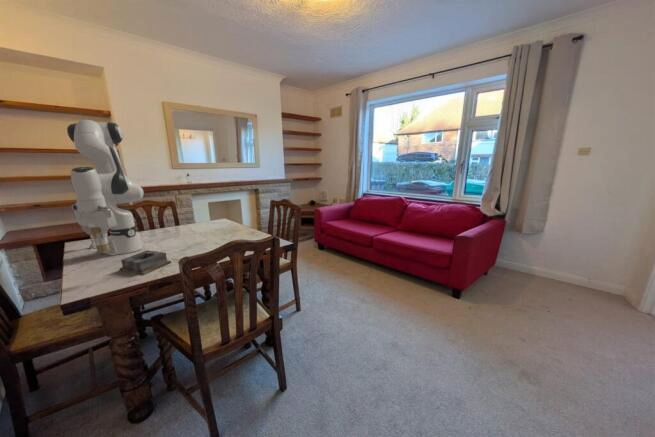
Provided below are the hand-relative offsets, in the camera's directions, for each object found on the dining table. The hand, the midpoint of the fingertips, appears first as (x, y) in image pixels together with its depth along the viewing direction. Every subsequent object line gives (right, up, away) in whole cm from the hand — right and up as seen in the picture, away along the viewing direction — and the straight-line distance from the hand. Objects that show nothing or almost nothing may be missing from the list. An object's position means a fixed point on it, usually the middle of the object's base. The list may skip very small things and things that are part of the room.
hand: (100, 236), depth 111 cm
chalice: (-44, -10, +44) cm, 63 cm away
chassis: (+9, -16, +15) cm, 24 cm away
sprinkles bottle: (+1, -7, +1) cm, 7 cm away
